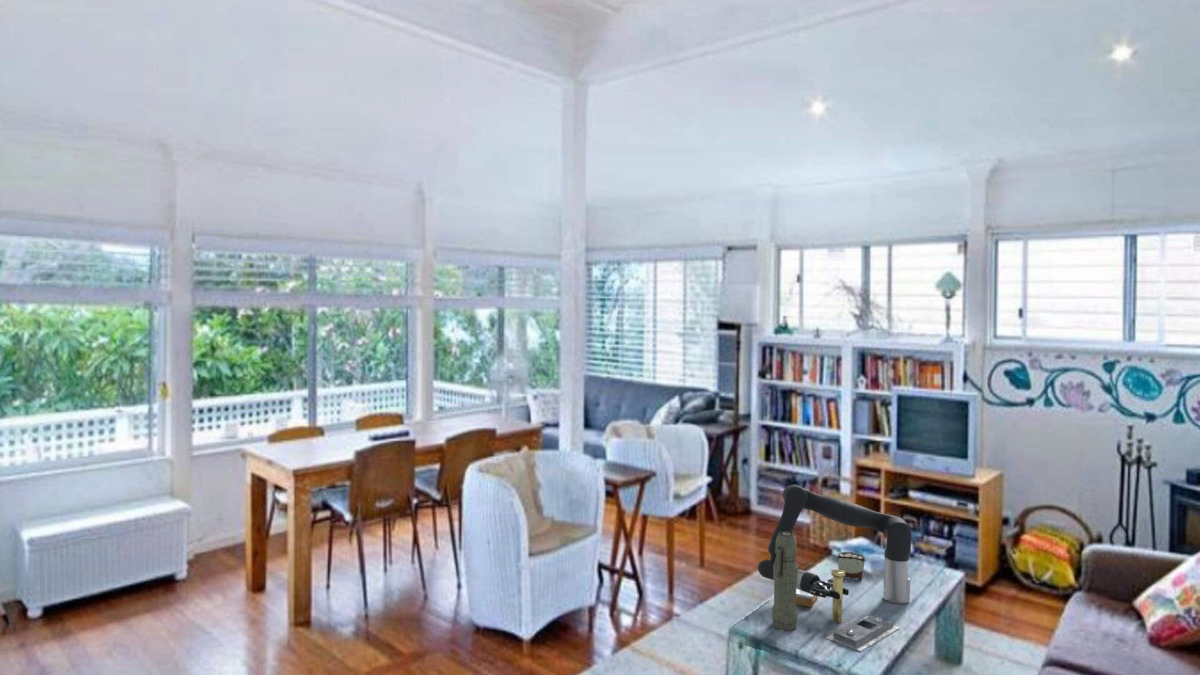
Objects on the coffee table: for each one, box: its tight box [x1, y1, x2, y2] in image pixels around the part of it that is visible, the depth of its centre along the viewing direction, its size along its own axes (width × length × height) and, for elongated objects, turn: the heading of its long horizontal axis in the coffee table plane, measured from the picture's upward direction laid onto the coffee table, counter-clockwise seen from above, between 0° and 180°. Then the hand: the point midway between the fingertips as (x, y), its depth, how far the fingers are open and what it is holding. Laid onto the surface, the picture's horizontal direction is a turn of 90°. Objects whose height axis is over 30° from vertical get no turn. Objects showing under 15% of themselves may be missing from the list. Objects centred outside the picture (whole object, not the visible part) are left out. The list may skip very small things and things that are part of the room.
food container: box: [836, 551, 867, 580], centre depth 322 cm, size 12×6×10 cm, turn 71°
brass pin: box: [830, 568, 845, 624], centre depth 276 cm, size 5×5×19 cm
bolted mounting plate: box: [826, 614, 900, 653], centre depth 266 cm, size 28×13×4 cm, turn 131°
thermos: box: [771, 532, 799, 632], centre depth 271 cm, size 9×12×35 cm
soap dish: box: [796, 589, 819, 608], centre depth 295 cm, size 12×10×5 cm
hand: (843, 594), depth 274 cm, fingers open, 5 cm apart
